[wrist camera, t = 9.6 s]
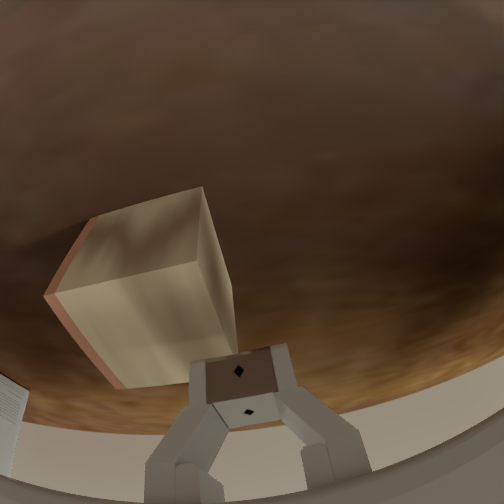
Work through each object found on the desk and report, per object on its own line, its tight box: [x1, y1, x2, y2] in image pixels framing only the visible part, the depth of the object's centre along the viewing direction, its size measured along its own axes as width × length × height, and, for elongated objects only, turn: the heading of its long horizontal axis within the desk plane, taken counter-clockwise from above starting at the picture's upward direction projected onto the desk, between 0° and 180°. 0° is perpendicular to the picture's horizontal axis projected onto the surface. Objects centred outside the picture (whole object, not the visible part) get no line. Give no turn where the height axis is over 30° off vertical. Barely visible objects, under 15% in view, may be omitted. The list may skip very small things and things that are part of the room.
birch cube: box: [43, 187, 238, 390], centre depth 13 cm, size 6×6×6 cm
